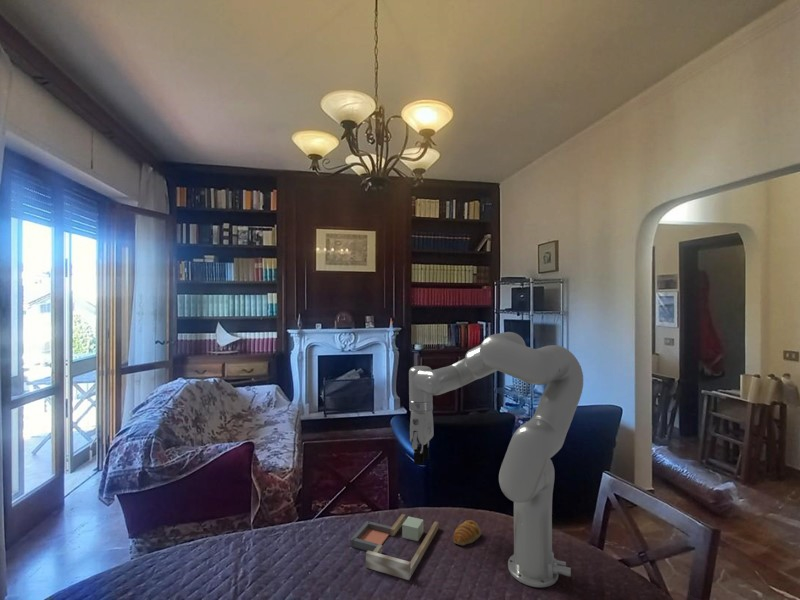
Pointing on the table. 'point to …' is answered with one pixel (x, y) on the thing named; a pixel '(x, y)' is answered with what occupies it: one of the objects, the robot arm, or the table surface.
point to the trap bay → (370, 536)
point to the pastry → (466, 533)
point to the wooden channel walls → (394, 564)
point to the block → (412, 528)
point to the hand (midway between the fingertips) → (421, 461)
